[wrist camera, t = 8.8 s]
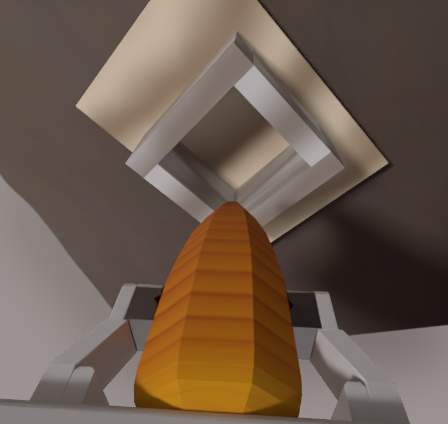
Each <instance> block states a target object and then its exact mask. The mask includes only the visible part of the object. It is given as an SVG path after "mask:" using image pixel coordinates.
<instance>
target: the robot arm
mask: <svg viewBox="0 0 448 424" xmlns="http://www.w3.org/2000/svg"><path fill="white" fill-rule="evenodd" d="M164 287H165V286H163V285H148V284H130V283H125V284H124V285H123V286H122V288H121V291H120V293H119V296H118V298H117V300H116V303H115V305H114V307H113V310H112V312H111V315H110V317H109V319H104V320H103V321H101V322H100V323H99V324H98V325H97V326H95V327H94V328H93V329H91V330H90V331H89V332H88V333H87V334H85V335H84V336H83V337H81V338H80V339H79V340H78V341H77V342H75V343H74V344H73V345H71V346H70V347H69V348H68V349H67V350H65V351H64V352H63V353H62V354H60V355H59V356H58V357H57V358H55V359H54V360H53V361H52V362H50V363H49V365H48V367H47V369H46V371H45V373H44V374H43V376H42V378H41V380H40V382H39V384H38V386H37V388H36V390H35V391H34V393H33V395H32V397H31V399H30V401H27V400H12V399H0V424H410V423H409V420H408V417H407V414H406V412H405V409H404V406H403V403H402V400H401V397H400V395H399V392H398V389H397V386H396V384H395V383H394V381H392V380H391V378H390V377H389V376H388V375H387V374H385V372H384V371H383V370H382V369H381V368H380V367H379V366H378V365H377V364H376V363H374V361H373V360H372V359H371V358H370V357H369V356H368V355H367V354H366V353H365V352H364V351H363V350H362V349H361V348H360V347H359V346H358V345H357V344H356V343H355V342H354V341H353V340H352V339H351V338H350V337H349V336H348V335H347V334H346V333H345V332H344V331H343V330H339V329H338V326H337V322H336V318H335V314H334V310H333V306H332V303H331V299H330V295H329V293H328V292H321V291H314V292H313V291H295V290H286V292H287V298H288V303H289V308H290V316H291V322H292V327H293V330H294V336H295V343H296V349H297V356H298V359H306V360H310V362H311V363H312V364H313V366H314V367H315V369H316V370H317V371H318V373H319V374H320V376H321V377H322V379H323V380H324V381H325V383H326V384H327V386H328V387H329V389H330V390H331V391H332V393H333V394H334V396H335V397H336V398H337V400H338V403H337V405H336V408H335V410H334V412H333V415H332V418H331V420H326V419H311V418H295V417H280V416H264V415H249V414H229V413H214V412H198V411H184V410H170V409H154V408H138V407H120V406H110V405H109V403H108V401H107V399H106V396H105V394H104V392H103V389H104V388H105V387H106V386H107V384H109V382H110V381H111V380H112V379H113V378H114V377H115V376H116V374H118V372H119V371H120V370H121V369H122V368H123V367H124V366H125V364H126V363H127V362H128V361H129V360H130V359H131V358H132V357H133V355H134V354H135V353H136V352H137V351H143V350H144V347H145V343H146V340H147V337H148V334H149V331H150V328H151V325H152V321H153V318H154V315H155V312H156V310H157V307H158V304H159V301H160V298H161V295H162V293H163V290H164Z"/></svg>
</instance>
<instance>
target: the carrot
mask: <svg viewBox="0 0 448 424" xmlns="http://www.w3.org/2000/svg"><path fill="white" fill-rule="evenodd" d="M301 386H302V385H301V375H300V368H299V362H298V356H297V349H296V343H295V336H294V330H293V327H292V322H291V316H290V308H289V303H288V298H287V292H286V287H285V282H284V278H283V275H282V272H281V270H280V267H279V264H278V261H277V258H276V255H275V253H274V250H273V248H272V245H271V243H270V241H269V238H268V236H267V234H266V232H265V231H264V229H263V228H262V227H261V225H260V224H259V223H258V221H257V220H256V218H254V217H253V216H252V215H251V214H250V213H249V212H248V211H247V210H246V209H245V208H244V207H242V206H241V205H240V204H239V203H238V202H236V201H227V202H226V203H224V204H223V205H221V206H220V207H219V208H217V209H216V210H215V211H214V212H212V213H211V214H210V215H209V216H208V217H206V218H205V220H204V221H203V222H202V223H201V224H200V225H199V226H198V227H197V228H196V229H195V230H194V231H193V233H192V234H191V236H190V238H189V239H188V241H187V243H186V244H185V246H184V248H183V249H182V251H181V253H180V255H179V257H178V259H177V260H176V262H175V264H174V266H173V268H172V270H171V272H170V274H169V276H168V279H167V281H166V284H165V287H164V290H163V293H162V295H161V298H160V301H159V304H158V307H157V310H156V312H155V315H154V318H153V321H152V325H151V328H150V331H149V334H148V337H147V340H146V343H145V347H144V350H143V353H142V356H141V359H140V362H139V366H138V369H137V373H136V379H135V384H134V402H135V405H136V407H138V408H154V409H170V410H184V411H198V412H214V413H229V414H249V415H264V416H280V417H295V418H298V415H299V411H300V404H301V397H302V387H301Z"/></svg>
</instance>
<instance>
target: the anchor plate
mask: <svg viewBox="0 0 448 424" xmlns="http://www.w3.org/2000/svg"><path fill="white" fill-rule="evenodd" d="M76 107H77V108H79V109H80V110H81V111H82V112H84V113H85V114H86V115H87V116H89V117H90V118H91V119H92V120H93V121H95V122H96V123H97V124H98V125H100V126H101V127H102V128H103V129H105V130H106V131H107V132H108V133H109V134H111V135H112V136H113V137H114V138H116V139H117V140H118V141H119V142H121V143H122V144H123V145H124V146H125V147H127V148H128V149H129V150H130V151H132V152H133V153H132V154H131V156H130V157H129V159H128V160H127V162H126V164H127V165H128V166H129V167H131V168H132V169H133V170H134V171H136V172H137V173H138V174H139V175H141V176H142V177H143V178H145V179H146V180H147V181H148V182H150V183H151V184H152V185H153V186H155V187H156V188H157V189H158V190H160V191H161V192H162V193H164V194H165V195H166V196H167V197H169V198H170V199H171V200H172V201H174V202H175V203H176V204H178V205H179V206H180V207H181V208H183V209H184V210H185V211H186V212H188V213H189V214H190V215H191V216H193V217H194V218H195V219H197V220H198V221H199V222H200V223H202V222H203V221H204V220H205V218H206V217H208V216H209V215H210V214H211V213H212V212H214V211H215V210H216V209H217V208H219V207H220V206H221V205H223V204H224V203H226V202H227V201H236V202H238V203H239V204H240V205H241V206H242V207H244V208H245V209H246V210H247V211H248V212H249V213H250V214H251V215H252V216H253V217H254V218H256V220H257V221H258V223H259V224H260V225H261V227H262V228H263V229H264V231H265V232H266V234H267V236H268V238H269V241H270V243H271V242H272V241H274V240H275V239H277V238H278V237H280V236H281V235H283V234H284V233H286V232H287V231H289V230H290V229H292V228H293V227H295V226H296V225H298V224H299V223H301V222H302V221H304V220H305V219H306V218H308V217H309V216H311V215H312V214H314V213H315V212H317V211H318V210H320V209H321V208H323V207H324V206H326V205H327V204H329V203H330V202H332V201H333V200H335V199H336V198H338V197H339V196H341V195H342V194H344V193H345V192H346V191H348V190H349V189H351V188H352V187H354V186H355V185H357V184H358V183H360V182H361V181H363V180H364V179H366V178H367V177H369V176H370V175H372V174H373V173H375V172H376V171H378V170H379V169H381V168H382V167H384V166H385V165H386V164H388V162H387V160H386V159H385V158H384V156H383V155H382V154H381V153H380V151H379V150H378V149H377V148H376V146H375V145H374V144H373V143H372V141H371V140H370V139H369V138H368V136H367V135H366V134H365V133H364V131H363V130H362V129H361V128H360V127H359V125H358V124H357V123H356V122H355V120H354V119H353V118H352V117H351V115H350V114H349V113H348V112H347V110H346V109H345V108H344V107H343V106H342V104H341V103H340V102H339V101H338V99H337V98H336V97H335V96H334V94H333V93H332V92H331V91H330V89H329V88H328V87H327V86H326V85H325V83H324V82H323V81H322V80H321V78H320V77H319V76H318V75H317V73H316V72H315V71H314V70H313V68H312V67H311V66H310V65H309V63H308V62H307V61H306V60H305V59H304V57H303V56H302V55H301V54H300V52H299V51H298V50H297V49H296V47H295V46H294V45H293V44H292V42H291V41H290V40H289V39H288V38H287V36H286V35H285V34H284V33H283V31H282V30H281V29H280V28H279V26H278V25H277V24H276V23H275V21H274V20H273V19H272V18H271V16H270V15H269V14H268V13H267V12H266V10H265V9H264V8H263V7H262V5H261V4H260V3H259V2H258V0H150V2H149V3H148V4H147V6H146V7H145V9H144V10H143V12H142V13H141V14H140V16H139V17H138V19H137V20H136V21H135V23H134V24H133V26H132V27H131V28H130V30H129V31H128V33H127V34H126V36H125V37H124V38H123V40H122V41H121V43H120V44H119V45H118V47H117V48H116V50H115V51H114V53H113V54H112V55H111V57H110V58H109V60H108V61H107V62H106V64H105V65H104V67H103V68H102V69H101V71H100V72H99V74H98V75H97V77H96V78H95V79H94V81H93V82H92V84H91V85H90V86H89V88H88V89H87V91H86V92H85V94H84V95H83V96H82V98H81V99H80V101H79V102H78V103H77V105H76Z"/></svg>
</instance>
